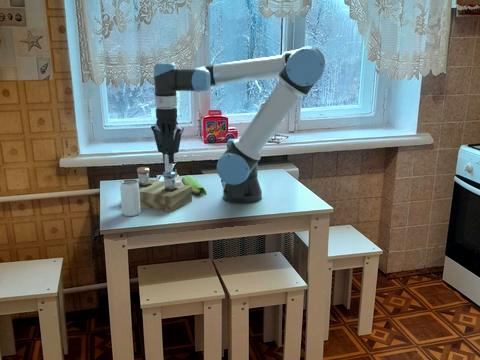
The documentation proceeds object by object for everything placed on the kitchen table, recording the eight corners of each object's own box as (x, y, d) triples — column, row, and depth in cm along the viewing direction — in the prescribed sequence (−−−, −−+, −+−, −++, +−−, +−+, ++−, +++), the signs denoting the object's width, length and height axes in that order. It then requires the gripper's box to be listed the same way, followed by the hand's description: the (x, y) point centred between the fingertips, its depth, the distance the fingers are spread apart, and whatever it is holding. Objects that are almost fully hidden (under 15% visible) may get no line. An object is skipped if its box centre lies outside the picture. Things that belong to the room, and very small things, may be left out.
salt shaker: (178, 192, 190) (178, 171, 188) (171, 196, 186) (170, 174, 184) (168, 191, 192) (167, 170, 190) (161, 194, 188) (160, 173, 186)
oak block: (192, 201, 194) (191, 186, 193) (171, 212, 182) (170, 196, 181) (145, 192, 204) (145, 178, 202) (123, 203, 192) (121, 188, 190)
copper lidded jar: (152, 188, 196) (151, 167, 193) (145, 191, 192) (144, 170, 189) (143, 186, 198) (142, 166, 195) (135, 190, 194) (134, 169, 191)
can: (139, 216, 179) (137, 184, 175) (121, 217, 178) (118, 184, 175) (141, 210, 185) (139, 178, 182) (123, 210, 185) (121, 179, 181)
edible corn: (191, 174, 215) (182, 172, 213) (209, 188, 198) (199, 186, 196) (188, 185, 216) (179, 183, 214) (206, 200, 199) (195, 199, 197)
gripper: (144, 107, 180) (148, 171, 187) (175, 110, 174) (178, 176, 181) (157, 104, 186) (160, 166, 193) (187, 107, 180) (189, 171, 187)
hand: (169, 171), depth 187 cm, fingers closed
